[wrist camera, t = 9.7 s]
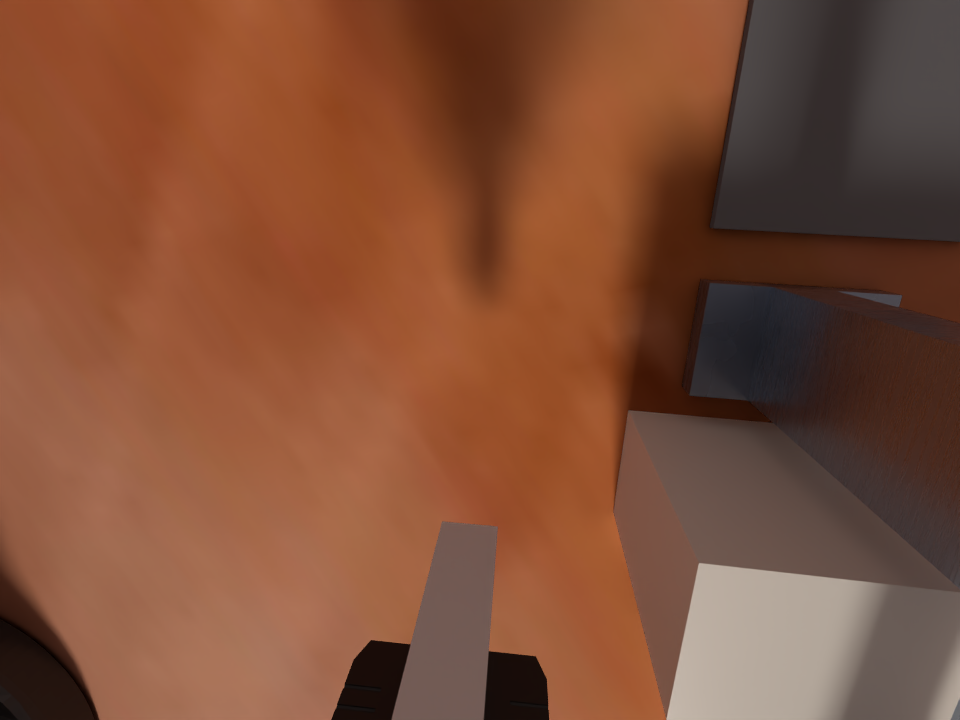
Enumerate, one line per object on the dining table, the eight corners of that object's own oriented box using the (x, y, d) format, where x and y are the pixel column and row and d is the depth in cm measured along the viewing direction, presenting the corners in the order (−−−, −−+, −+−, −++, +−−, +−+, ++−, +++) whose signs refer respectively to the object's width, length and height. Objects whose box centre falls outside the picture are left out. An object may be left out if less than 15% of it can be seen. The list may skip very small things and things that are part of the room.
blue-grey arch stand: (641, 614, 22) (778, 1140, 9) (700, 279, 18) (1080, 433, 5) (786, 632, 21) (1132, 1215, 9) (881, 290, 17) (1772, 492, 5)
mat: (709, 228, 17) (713, 228, 17) (758, -51, 15) (764, -58, 15) (962, 241, 17) (972, 242, 16) (1053, -49, 14) (1068, -56, 14)
